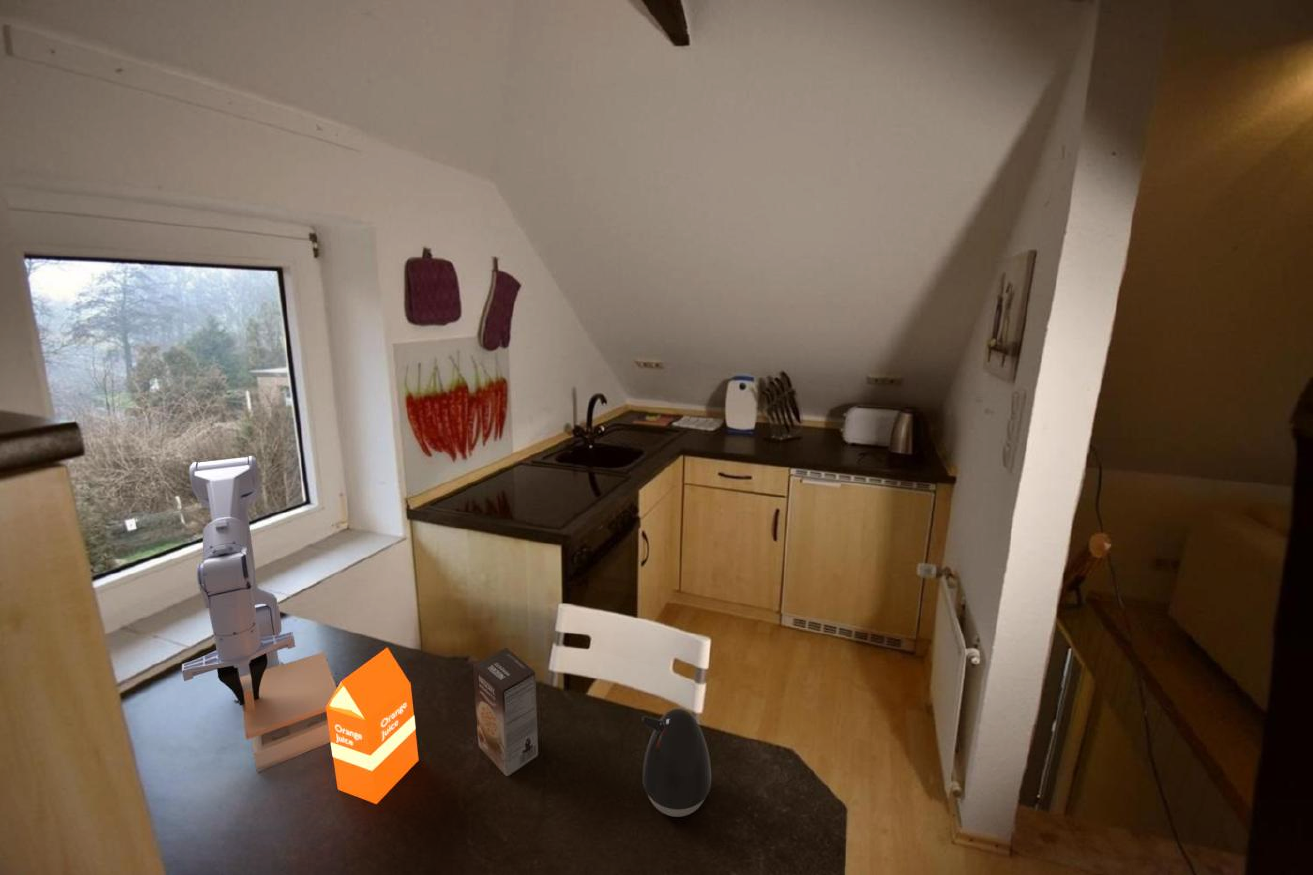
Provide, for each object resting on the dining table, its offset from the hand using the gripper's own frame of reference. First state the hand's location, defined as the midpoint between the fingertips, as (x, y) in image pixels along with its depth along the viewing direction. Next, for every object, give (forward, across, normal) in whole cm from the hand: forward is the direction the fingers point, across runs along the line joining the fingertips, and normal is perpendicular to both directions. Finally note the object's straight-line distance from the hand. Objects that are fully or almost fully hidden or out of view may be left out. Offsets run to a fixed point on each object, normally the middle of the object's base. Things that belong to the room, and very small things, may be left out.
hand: (249, 698), depth 93 cm
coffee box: (+8, +32, -28) cm, 44 cm away
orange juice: (+8, +14, -20) cm, 26 cm away
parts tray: (+8, +6, 0) cm, 10 cm away
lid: (+2, +5, 0) cm, 6 cm away
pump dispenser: (+8, +48, -52) cm, 72 cm away
